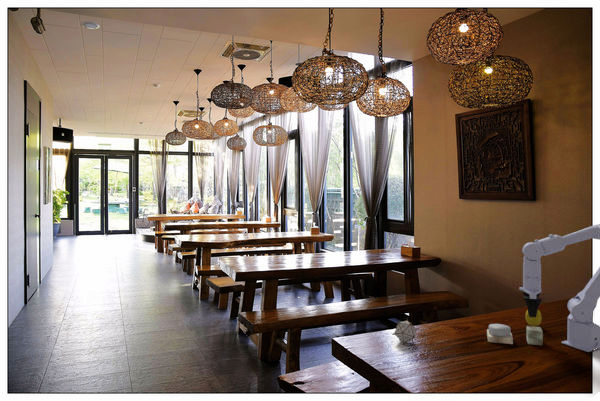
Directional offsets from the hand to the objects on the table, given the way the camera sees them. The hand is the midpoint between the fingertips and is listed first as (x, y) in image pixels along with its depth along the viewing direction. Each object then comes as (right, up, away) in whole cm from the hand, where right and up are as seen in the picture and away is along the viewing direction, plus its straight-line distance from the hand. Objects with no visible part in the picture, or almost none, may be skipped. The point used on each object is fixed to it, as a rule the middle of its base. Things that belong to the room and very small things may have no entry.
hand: (531, 314), depth 159 cm
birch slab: (-11, -10, +2) cm, 15 cm away
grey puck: (-11, -8, +2) cm, 13 cm away
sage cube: (0, -10, -2) cm, 10 cm away
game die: (-45, -10, 0) cm, 46 cm away
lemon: (+8, -9, +14) cm, 18 cm away
